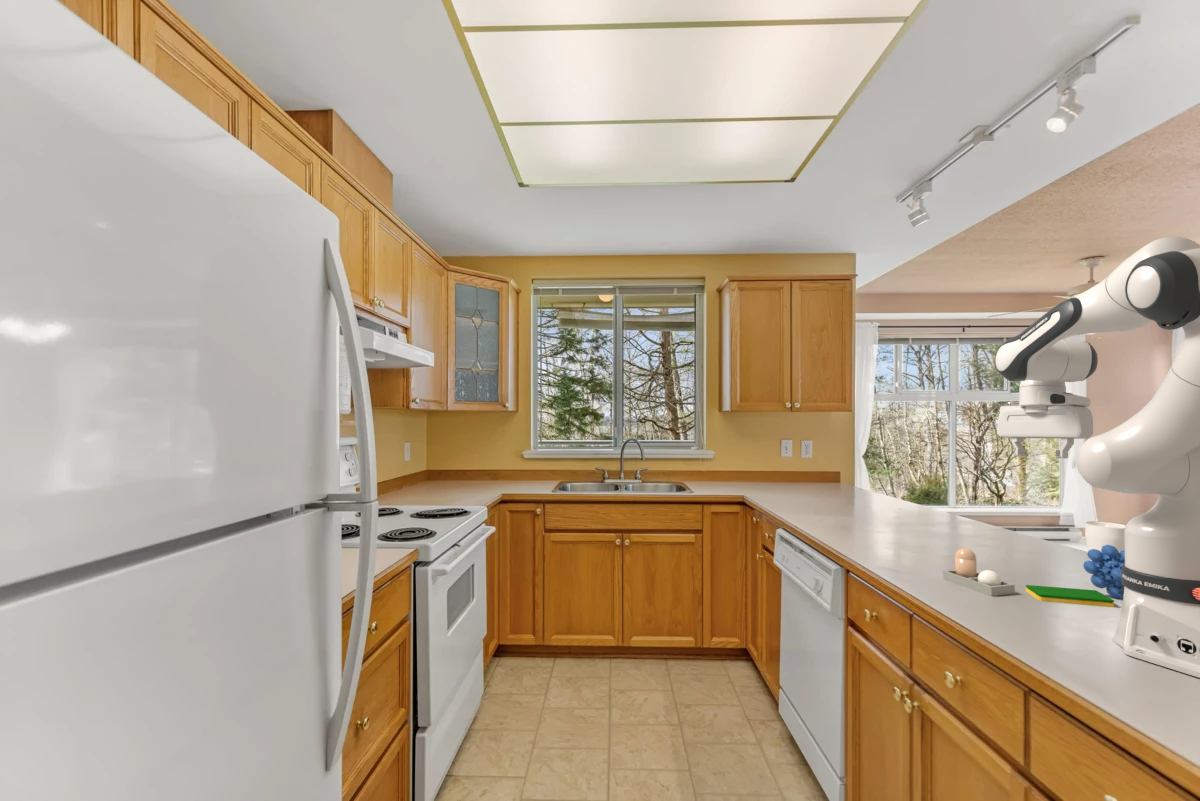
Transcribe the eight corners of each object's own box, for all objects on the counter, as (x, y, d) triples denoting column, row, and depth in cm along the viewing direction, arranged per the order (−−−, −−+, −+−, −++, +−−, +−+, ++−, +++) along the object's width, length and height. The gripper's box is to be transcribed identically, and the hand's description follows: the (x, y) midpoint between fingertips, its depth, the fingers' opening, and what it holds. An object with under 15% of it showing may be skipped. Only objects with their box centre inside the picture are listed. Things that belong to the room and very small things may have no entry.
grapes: (1087, 598, 126) (1086, 546, 127) (1081, 590, 132) (1081, 540, 132) (1157, 608, 120) (1157, 553, 120) (1148, 599, 126) (1148, 546, 126)
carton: (1014, 595, 128) (1014, 584, 128) (991, 598, 127) (991, 587, 127) (965, 578, 141) (965, 568, 141) (943, 580, 139) (943, 570, 139)
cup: (1088, 562, 156) (1088, 519, 156) (1133, 570, 149) (1132, 525, 149) (1081, 568, 150) (1081, 524, 150) (1127, 576, 143) (1127, 530, 143)
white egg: (1006, 592, 129) (1006, 572, 129) (990, 594, 128) (990, 574, 128) (988, 586, 134) (988, 567, 134) (972, 587, 133) (972, 568, 133)
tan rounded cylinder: (981, 583, 135) (980, 550, 135) (966, 585, 134) (965, 551, 134) (965, 578, 140) (965, 545, 140) (951, 579, 139) (950, 547, 139)
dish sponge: (1115, 611, 120) (1115, 600, 120) (1039, 605, 124) (1039, 594, 124) (1096, 600, 127) (1096, 589, 127) (1025, 594, 131) (1025, 584, 131)
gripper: (991, 400, 143) (989, 454, 142) (1077, 396, 123) (1077, 458, 122) (1010, 403, 144) (1008, 456, 143) (1098, 398, 125) (1097, 460, 124)
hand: (1040, 457), depth 133 cm, fingers open, 8 cm apart
